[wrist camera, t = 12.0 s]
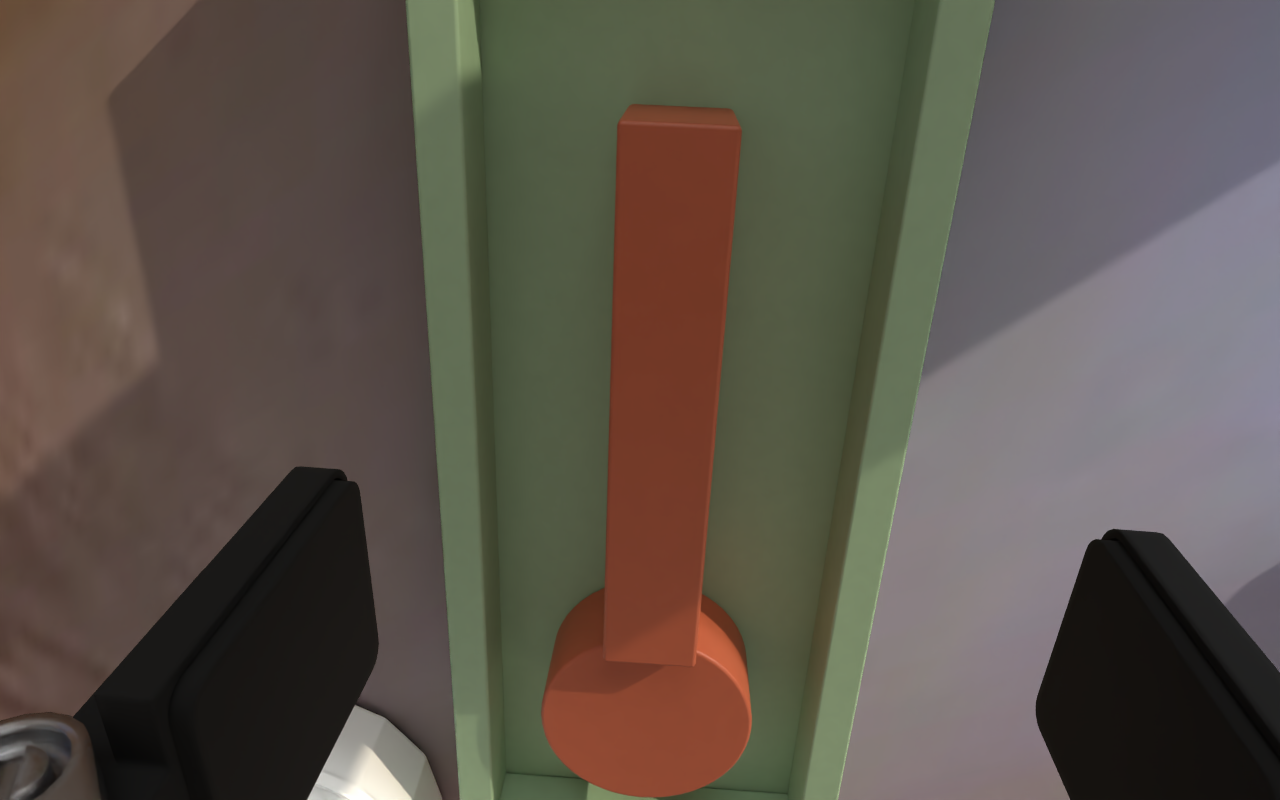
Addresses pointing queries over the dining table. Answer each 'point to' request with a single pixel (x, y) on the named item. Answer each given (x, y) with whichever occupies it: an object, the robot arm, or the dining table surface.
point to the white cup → (374, 764)
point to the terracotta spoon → (659, 481)
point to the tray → (752, 352)
